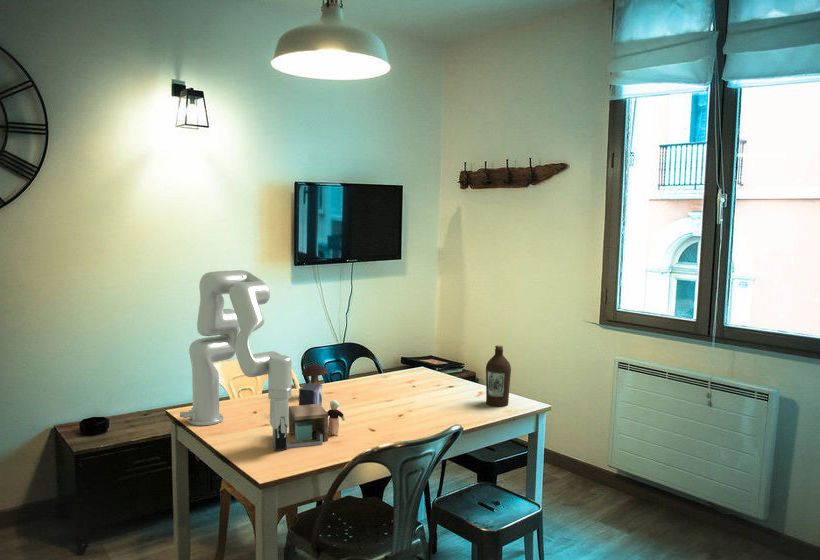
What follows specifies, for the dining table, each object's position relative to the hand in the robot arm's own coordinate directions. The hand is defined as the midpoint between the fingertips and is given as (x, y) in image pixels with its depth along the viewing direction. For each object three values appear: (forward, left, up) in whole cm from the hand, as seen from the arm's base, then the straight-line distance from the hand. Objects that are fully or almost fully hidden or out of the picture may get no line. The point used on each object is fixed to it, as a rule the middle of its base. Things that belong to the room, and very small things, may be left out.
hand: (279, 445), depth 214 cm
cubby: (+11, +9, -1) cm, 14 cm away
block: (+10, +9, -1) cm, 13 cm away
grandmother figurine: (+21, +8, -1) cm, 22 cm away
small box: (+19, +38, -1) cm, 42 cm away
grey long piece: (+6, +1, -1) cm, 6 cm away
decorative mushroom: (+25, +58, -1) cm, 63 cm away
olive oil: (+97, +26, -1) cm, 100 cm away
